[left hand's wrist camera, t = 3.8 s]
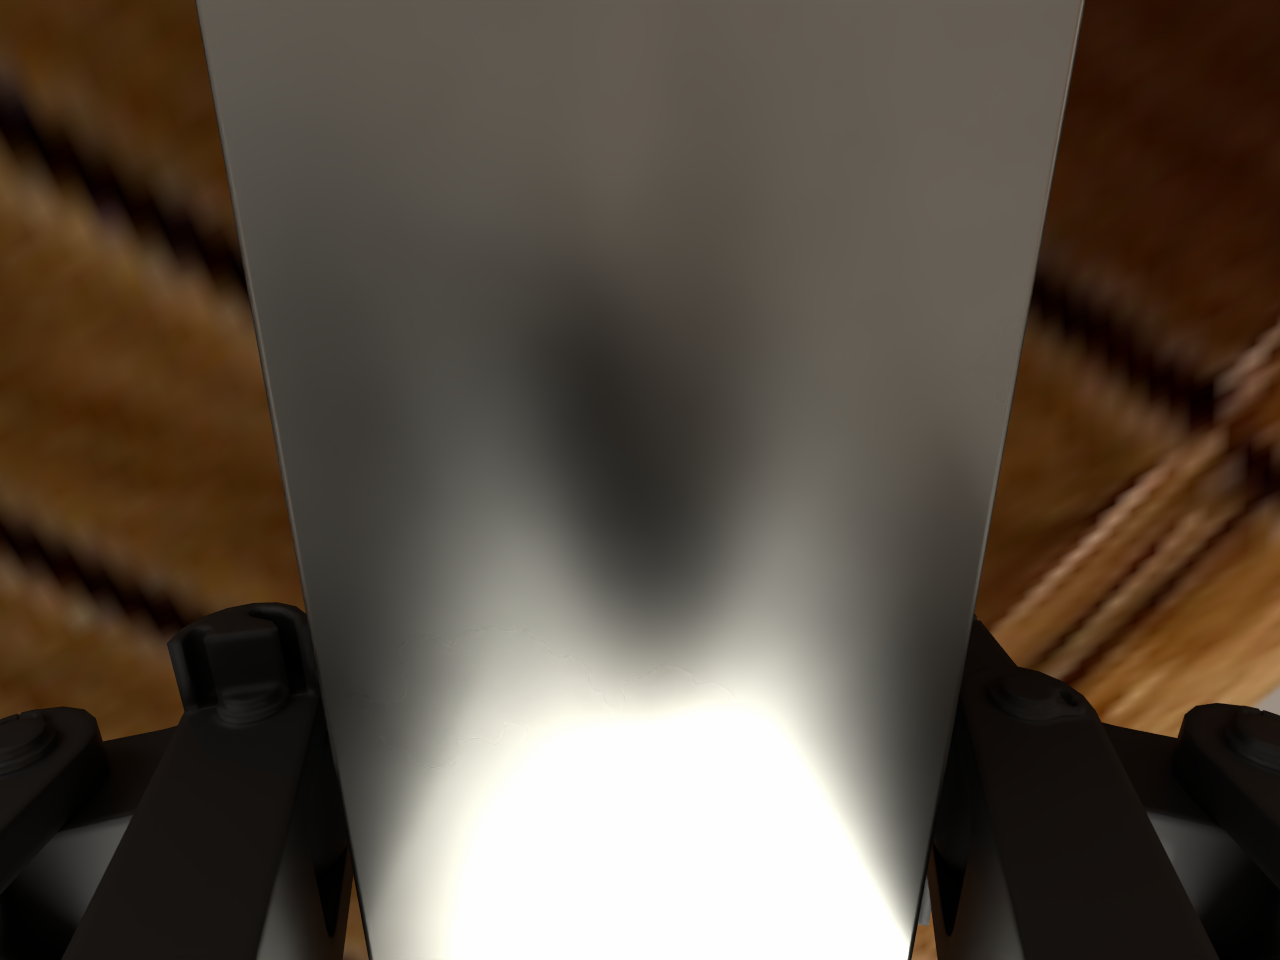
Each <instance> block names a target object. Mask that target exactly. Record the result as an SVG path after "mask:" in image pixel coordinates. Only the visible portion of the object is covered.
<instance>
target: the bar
mask: <svg viewBox="0 0 1280 960" xmlns="http://www.w3.org/2000/svg"><path fill="white" fill-rule="evenodd" d="M195 3H196V9H197V14H198V20H199V25H200V31H201V36H202V42H203V47H204V53H205V58H206V64H207V69H208V75H209V80H210V86H211V91H212V97H213V102H214V108H215V113H216V119H217V124H218V130H219V135H220V141H221V146H222V152H223V157H224V163H225V168H226V174H227V179H228V185H229V190H230V196H231V202H232V207H233V213H234V218H235V224H236V229H237V235H238V240H239V246H240V251H241V257H242V262H243V268H244V273H245V279H246V284H247V290H248V295H249V301H250V306H251V312H252V317H253V323H254V328H255V334H256V339H257V345H258V350H259V356H260V361H261V367H262V372H263V378H264V383H265V389H266V395H267V400H268V406H269V411H270V417H271V422H272V428H273V433H274V439H275V444H276V450H277V455H278V461H279V466H280V472H281V477H282V483H283V488H284V494H285V499H286V505H287V510H288V516H289V521H290V527H291V532H292V538H293V543H294V549H295V554H296V560H297V565H298V571H299V576H300V582H301V588H302V593H303V599H304V604H305V610H306V615H307V621H308V626H309V632H310V637H311V643H312V648H313V654H314V659H315V665H316V670H317V676H318V681H319V687H320V692H321V698H322V703H323V709H324V714H325V720H326V725H327V731H328V736H329V742H330V747H331V753H332V758H333V764H334V769H335V775H336V781H337V786H338V792H339V797H340V803H341V808H342V814H343V819H344V825H345V830H346V836H347V841H348V847H349V852H350V858H351V863H352V869H353V874H354V880H355V885H356V891H357V896H358V902H359V907H360V913H361V918H362V924H363V929H364V935H365V940H366V946H367V951H368V957H369V960H911V958H912V953H913V947H914V942H915V936H916V931H917V925H918V920H919V914H920V909H921V903H922V898H923V892H924V887H925V881H926V876H927V870H928V865H929V859H930V854H931V848H932V843H933V837H934V832H935V826H936V821H937V815H938V810H939V804H940V799H941V793H942V788H943V782H944V777H945V771H946V766H947V760H948V754H949V749H950V743H951V738H952V732H953V727H954V721H955V716H956V710H957V705H958V699H959V694H960V688H961V683H962V677H963V672H964V666H965V661H966V655H967V650H968V644H969V639H970V633H971V628H972V622H973V617H974V611H975V606H976V600H977V595H978V589H979V584H980V578H981V573H982V567H983V562H984V556H985V551H986V545H987V540H988V534H989V529H990V523H991V518H992V512H993V507H994V501H995V496H996V490H997V485H998V479H999V474H1000V468H1001V463H1002V457H1003V451H1004V446H1005V440H1006V435H1007V429H1008V424H1009V418H1010V413H1011V407H1012V402H1013V396H1014V391H1015V385H1016V380H1017V374H1018V369H1019V363H1020V358H1021V352H1022V347H1023V341H1024V336H1025V330H1026V325H1027V319H1028V314H1029V308H1030V303H1031V297H1032V292H1033V286H1034V281H1035V275H1036V270H1037V264H1038V259H1039V253H1040V248H1041V242H1042V237H1043V231H1044V226H1045V220H1046V215H1047V209H1048V204H1049V198H1050V193H1051V187H1052V182H1053V176H1054V171H1055V165H1056V160H1057V154H1058V148H1059V143H1060V137H1061V132H1062V126H1063V121H1064V115H1065V110H1066V104H1067V99H1068V93H1069V88H1070V82H1071V77H1072V71H1073V66H1074V60H1075V55H1076V49H1077V44H1078V38H1079V33H1080V27H1081V22H1082V16H1083V11H1084V5H1085V0H195Z"/></svg>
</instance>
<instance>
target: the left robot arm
mask: <svg viewBox="0 0 1280 960" xmlns="http://www.w3.org/2000/svg"><path fill="white" fill-rule="evenodd" d="M167 646H168V650H169V654H170V657H171V661H172V665H173V669H174V673H175V677H176V680H177V684H178V688H179V692H180V696H181V700H182V703H183V707H184V711H185V712H184V714H183V716H182V718H181V720H180V722H179V724H178V726H175V727H171V728H167V729H163V730H158V731H153V732H148V733H143V734H138V735H133V736H128V737H123V738H118V739H113V740H108V741H103V740H102V737H101V734H100V731H99V727H98V724H97V721H96V718H95V717H93V716H92V715H91V714H90V713H88V712H87V711H86V710H84V709H77V708H70V707H55V708H47V709H36V710H31V711H26V712H22V713H21V714H19V715H18V714H15V715H12V716H9V717H6V718H3V719H1V720H0V960H343V952H344V944H345V936H346V928H347V920H348V912H349V904H350V897H351V889H352V881H353V870H352V863H351V858H350V852H349V847H348V841H347V836H346V830H345V825H344V819H343V814H342V808H341V803H340V797H339V792H338V786H337V781H336V775H335V769H334V764H333V758H332V753H331V747H330V742H329V736H328V731H327V725H326V720H325V714H324V709H323V703H322V698H321V692H320V687H319V681H318V676H317V670H316V665H315V659H314V654H313V648H312V643H311V637H310V632H309V626H308V621H307V615H306V614H305V613H304V612H303V611H301V610H300V609H299V608H297V607H296V606H292V605H287V604H282V603H278V602H274V603H251V604H246V605H241V606H236V607H231V608H226V609H224V610H221V611H218V612H215V613H213V614H210V615H207V616H204V617H202V618H200V619H198V620H196V621H195V622H193V623H191V624H189V625H188V626H186V627H184V628H183V629H181V630H180V631H179V632H178V633H177V634H176V635H175V636H174V637H173V638H172V639H171V640H170V641H169V642H168V643H167ZM931 911H932V918H933V926H934V934H935V942H936V950H937V958H938V960H1280V716H1279V715H1277V714H1274V713H1271V712H1268V711H1265V710H1263V711H1260V710H1259V709H1257V708H1253V707H1248V706H1239V705H1230V704H1221V703H1213V704H1206V705H1199V706H1195V707H1194V708H1193V709H1191V710H1190V711H1189V712H1188V713H1186V714H1185V716H1184V719H1183V722H1182V725H1181V728H1180V731H1179V735H1178V738H1174V737H1169V736H1164V735H1159V734H1154V733H1148V732H1143V731H1138V730H1133V729H1128V728H1123V727H1118V726H1114V725H1110V724H1106V723H1103V722H1101V721H1100V719H1099V717H1098V715H1097V713H1096V711H1095V709H1094V708H1093V707H1092V706H1091V705H1090V703H1089V702H1088V701H1087V700H1086V698H1085V697H1084V696H1083V695H1082V694H1080V693H1079V692H1077V691H1076V690H1074V689H1073V688H1072V687H1070V686H1069V685H1067V684H1066V683H1064V682H1063V681H1060V680H1058V679H1056V678H1053V677H1051V676H1048V675H1046V674H1044V673H1041V672H1039V671H1035V670H1031V669H1026V668H1022V667H1017V665H1016V664H1015V663H1014V662H1013V661H1012V659H1011V658H1010V657H1009V656H1008V654H1007V653H1006V652H1005V651H1004V649H1003V648H1002V647H1001V646H1000V645H999V643H998V642H997V641H996V640H995V638H994V637H993V636H992V635H991V633H990V632H989V631H988V630H987V628H986V627H985V626H984V625H983V624H982V622H981V621H977V616H976V615H975V614H974V617H973V622H972V628H971V633H970V639H969V644H968V650H967V655H966V661H965V666H964V672H963V677H962V683H961V688H960V694H959V699H958V705H957V710H956V716H955V721H954V727H953V732H952V738H951V743H950V749H949V754H948V760H947V766H946V771H945V777H944V782H943V788H942V793H941V799H940V804H939V810H938V815H937V821H936V826H935V832H934V837H933V843H932V848H931V854H930V859H929V865H928V870H927V876H926V881H925V887H924V892H923V898H922V903H921V909H920V914H919V920H918V924H921V925H925V926H928V924H929V919H930V914H931Z"/></svg>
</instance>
